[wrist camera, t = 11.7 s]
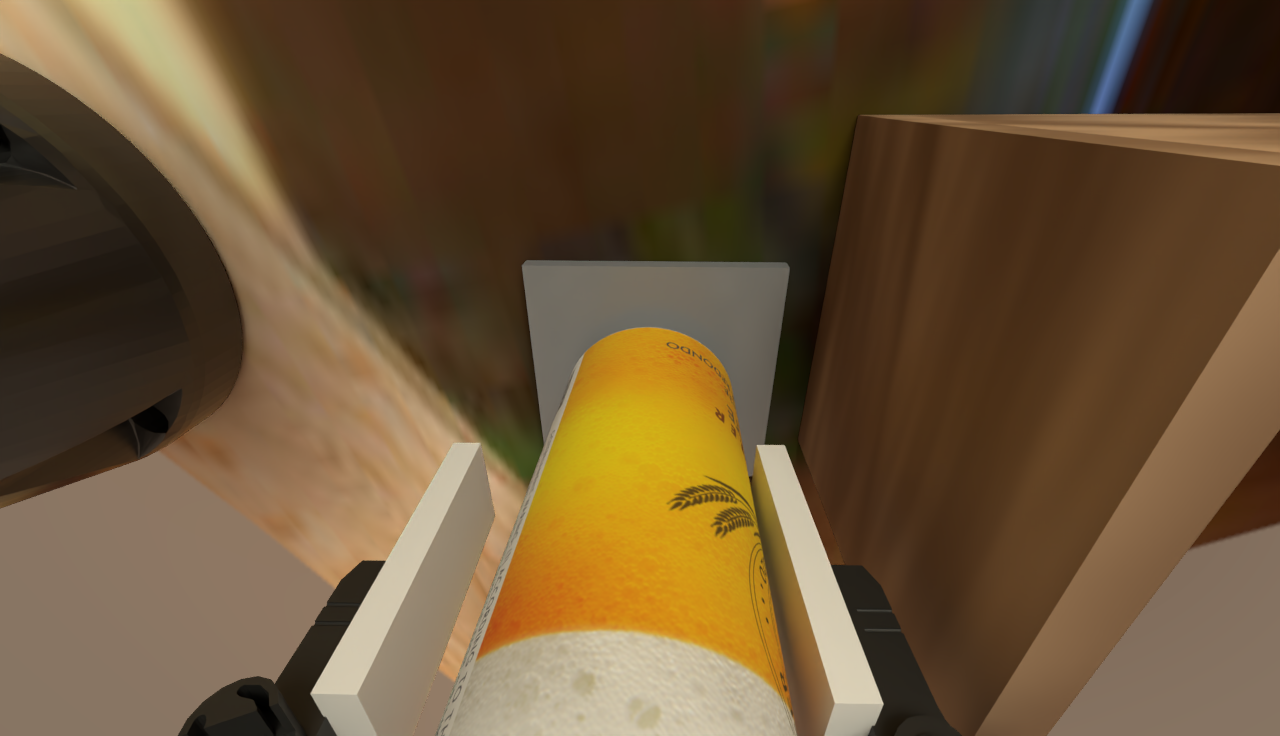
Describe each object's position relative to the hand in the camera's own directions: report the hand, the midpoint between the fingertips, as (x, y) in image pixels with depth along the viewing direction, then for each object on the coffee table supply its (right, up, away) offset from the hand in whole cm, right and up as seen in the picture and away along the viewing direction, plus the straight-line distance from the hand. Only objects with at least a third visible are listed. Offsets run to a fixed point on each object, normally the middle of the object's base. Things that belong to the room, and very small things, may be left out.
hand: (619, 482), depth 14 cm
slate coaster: (+1, +3, +5) cm, 6 cm away
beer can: (+1, +2, +5) cm, 6 cm away
